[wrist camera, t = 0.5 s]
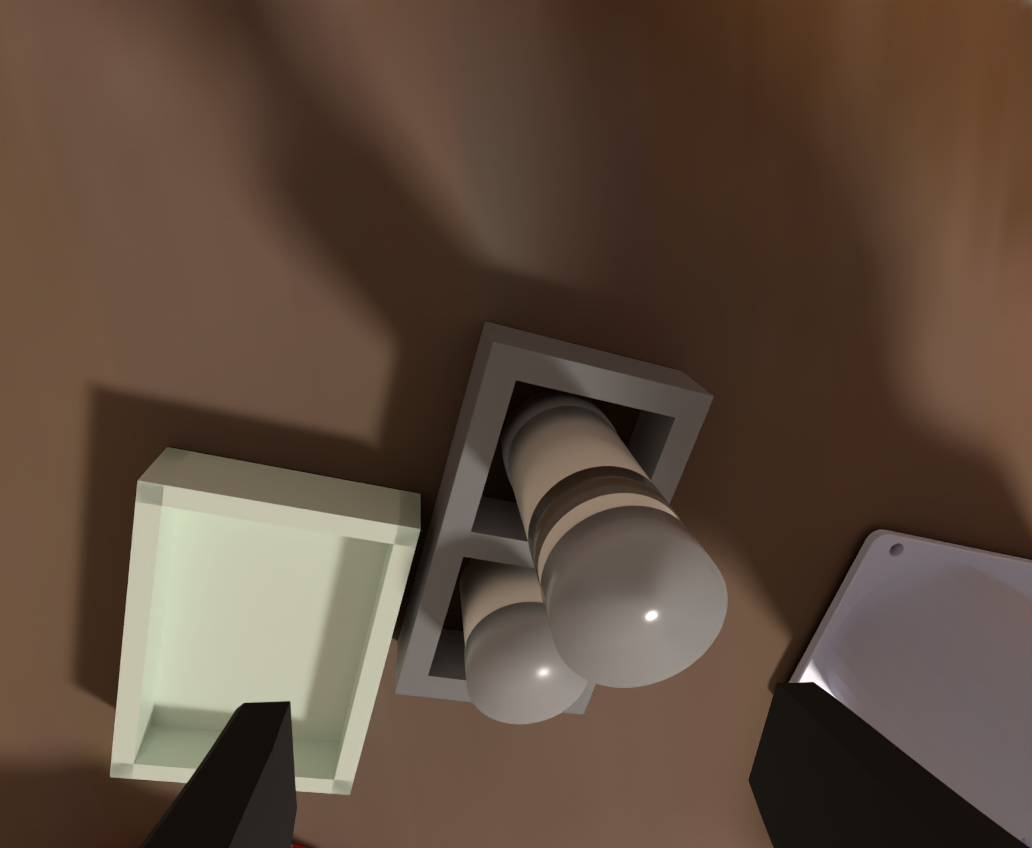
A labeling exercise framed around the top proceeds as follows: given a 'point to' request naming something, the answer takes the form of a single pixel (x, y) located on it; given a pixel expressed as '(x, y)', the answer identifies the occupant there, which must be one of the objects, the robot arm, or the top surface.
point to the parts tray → (257, 612)
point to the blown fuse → (607, 547)
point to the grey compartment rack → (521, 529)
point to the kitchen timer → (297, 846)
